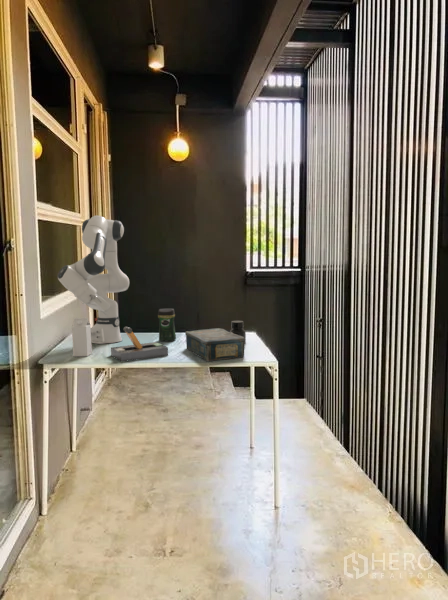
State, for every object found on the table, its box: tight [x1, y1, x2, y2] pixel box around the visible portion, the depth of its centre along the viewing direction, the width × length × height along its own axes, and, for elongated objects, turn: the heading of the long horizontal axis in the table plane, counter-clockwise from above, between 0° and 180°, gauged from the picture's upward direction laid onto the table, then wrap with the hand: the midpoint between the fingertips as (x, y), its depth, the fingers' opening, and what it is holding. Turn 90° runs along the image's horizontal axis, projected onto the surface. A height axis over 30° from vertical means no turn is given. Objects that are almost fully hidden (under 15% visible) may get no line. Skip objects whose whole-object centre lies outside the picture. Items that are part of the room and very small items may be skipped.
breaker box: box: [110, 341, 169, 362], centre depth 237 cm, size 24×16×4 cm, turn 121°
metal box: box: [184, 327, 246, 362], centre depth 240 cm, size 21×32×10 cm, turn 22°
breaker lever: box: [123, 326, 142, 349], centre depth 235 cm, size 3×6×12 cm
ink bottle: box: [229, 320, 247, 343], centre depth 264 cm, size 10×9×12 cm
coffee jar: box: [157, 308, 177, 342], centre depth 274 cm, size 10×8×19 cm
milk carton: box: [71, 317, 93, 357], centre depth 239 cm, size 7×7×19 cm
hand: (108, 314), depth 227 cm, fingers closed
